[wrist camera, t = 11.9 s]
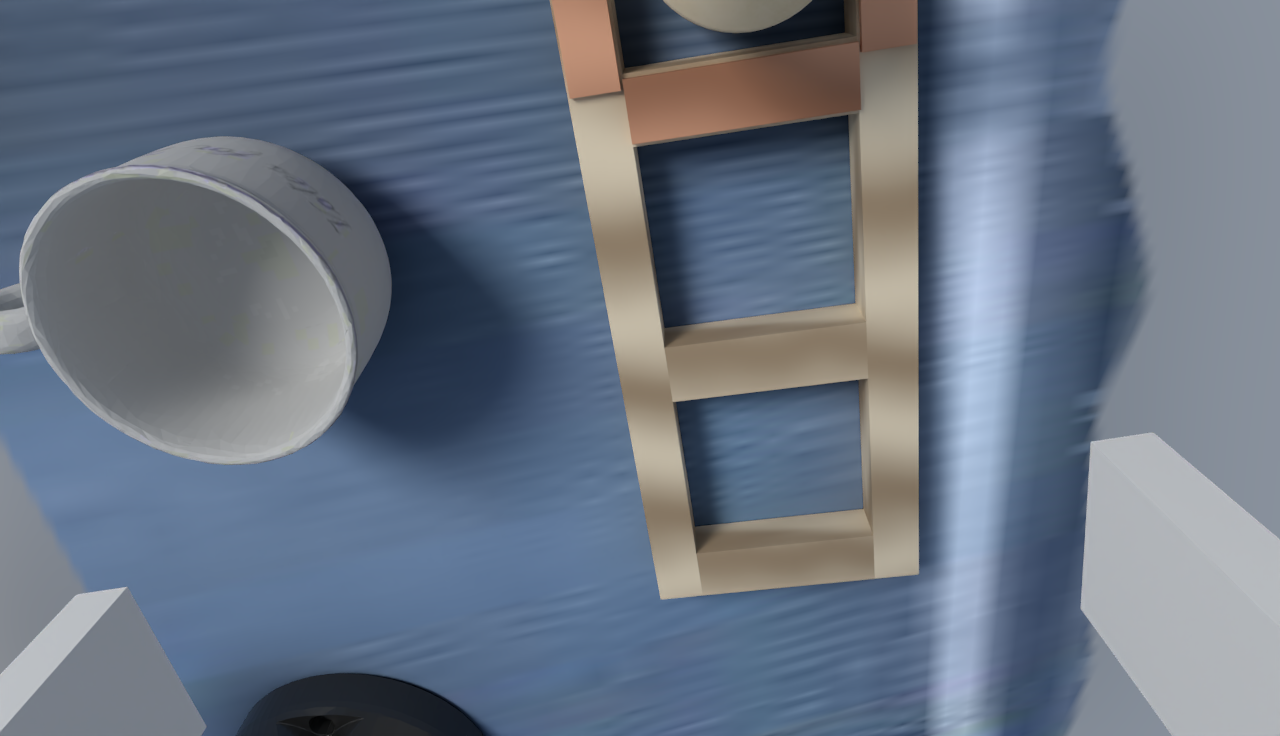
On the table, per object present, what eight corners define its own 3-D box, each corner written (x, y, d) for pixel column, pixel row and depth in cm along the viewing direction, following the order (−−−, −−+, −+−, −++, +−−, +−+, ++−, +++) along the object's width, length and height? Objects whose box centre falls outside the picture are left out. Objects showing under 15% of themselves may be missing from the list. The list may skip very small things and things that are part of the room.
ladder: (907, 546, 39) (920, 578, 37) (661, 571, 40) (660, 604, 38) (898, -355, 24) (919, -386, 22) (507, -275, 25) (493, -297, 23)
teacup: (420, 141, 31) (345, 193, 24) (417, 388, 36) (355, 492, 28) (54, 90, 30) (-135, 127, 23) (101, 347, 35) (-44, 442, 28)
